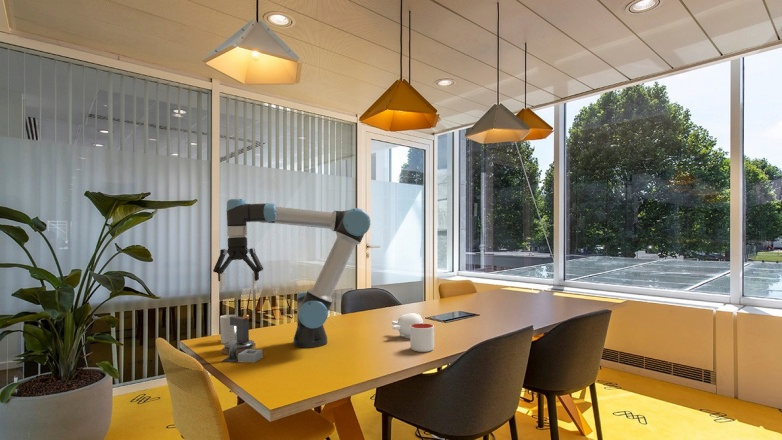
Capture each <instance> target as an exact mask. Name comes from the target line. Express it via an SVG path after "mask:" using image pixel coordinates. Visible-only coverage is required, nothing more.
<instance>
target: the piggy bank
mask: <svg viewBox="0 0 782 440" xmlns="http://www.w3.org/2000/svg"><path fill="white" fill-rule="evenodd" d="M419 323H424V320H423V318H422V316H421V315H420V314H418V313H414V312H412V313H411V312H410V313H405V314H403V315H401V316H399V318H398V319H397V321H396V320H391V324H392V330H394V331H395V330H398V332H399V336H400V337H403V338H406V339H410V326H411V325H413V324H419Z"/></svg>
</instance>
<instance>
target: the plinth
mask: <svg viewBox="0 0 782 440" xmlns="http://www.w3.org/2000/svg"><path fill="white" fill-rule="evenodd" d="M256 345H257V344H256V342H254V345H253V346H251V347H247V348H242V349H237V355H238V354H239V353H241V352H243V351H244V350H246V349H253V350H255V349H256ZM221 353H222V354H227V355H229V349H227V348H225V347H223V348H222V350H221Z"/></svg>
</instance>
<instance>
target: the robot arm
mask: <svg viewBox="0 0 782 440" xmlns="http://www.w3.org/2000/svg"><path fill="white" fill-rule="evenodd" d="M247 223H263V224H264V223H265V224H267V223H268V224H278V225H288V226H300V227H308V228H309V227H310V228H319V229H330V230H331V232H335V234H336V239H335V240H334V241H335V242H334V243H333V245H332V247H331V249H330V252H329V253H328V256H327V258H326V260H325V261H324V264H323V266H322V268H321V270H320V273H319V274H318V277H317V279H316V280H315V283H314V285H313V287H311V289H307V291H306V292H299V293H297V296H296V312H297V313H296V321H297V322H296V325H297V326H296V330H295V333H294V337H293V344H292V345H293V346H294V347H297V348H298V347H299V348H306V349H308V348H316V347H317V348H318V347H322V346H325V345H327V344H328V336H327V333H326V330H325V326H324V324H325V323H326V321H327V320H328V316H329V311H330V308H331V306H332V304H333V302H334V301H333V298H332V296H333V294H334V291H335V289H336V287H337V285H338V283H339V281H340V279H341V277H342V275H343V272H344V270H345V268H346V266H347V264H348V262H349V260H350V257H351V255H352V254H353V251H354V249H355V246H357V245H360V244H361V242H362V240H363V238H364V236H365V234H367V232H368V231H369V230H370V227H371V218H370V216H369V214H368V213H367V211H365V210H364V209H362V208H358V207H354V208H351V209H348V210H333V211H332V212H331V211H322V210H321V211H320V210H311V209H300V208H292V207H284V206H283V207H282V206H277V205H276V203H268V202H266V203H247V200H246V199H244V198H230V199H228V200H227V202H226V225H227V231H226V233H227V235H226V236H227V237H228V238H227V249H226V248H222V249H220V251H219V252H220V254H219V256H218V258H217V261H216V263H215V266H214V267H213V273H216V274H217V276H218V277H217V279H218V282H219V283H220V284H219V287H220V291H223V290H226V273H225V270H226V269H227V267H228V266H230V264H231V262H232V261H237V260H238V261H244V262H245V263H246V264H247V265H248V267H249V268H250V269H251V270H252V271H253V272H252V273H251V276H252V277H251V282H252V284H251V285H252V290H257V289H258V281H260V280H259V279H260V272H262V271H264V267H263V265H262V263H261V261H260V260H259V257H258V255H257V254H256V253H257V252H256V249H255V248H254V247H252V248H248V238H247V236H248V232H247V231H248V229H247ZM247 254H250V257H251V259H252V260H251V259H250V257H249V256H248V255H247ZM226 255H228V257H227V258H226ZM225 258H226V260H225ZM224 260H225V261H224Z"/></svg>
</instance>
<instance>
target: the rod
mask: <svg viewBox="0 0 782 440" xmlns="http://www.w3.org/2000/svg"><path fill="white" fill-rule="evenodd" d="M228 357H229V360H235V359H237V357H238V354H237V325H231V326H229V354H228Z"/></svg>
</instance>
